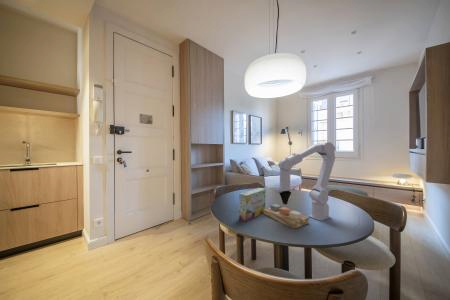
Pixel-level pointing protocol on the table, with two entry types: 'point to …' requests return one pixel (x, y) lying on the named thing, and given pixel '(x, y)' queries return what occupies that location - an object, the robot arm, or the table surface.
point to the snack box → (251, 204)
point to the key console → (286, 218)
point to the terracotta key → (284, 211)
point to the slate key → (275, 207)
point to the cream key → (295, 215)
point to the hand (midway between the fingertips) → (284, 203)
